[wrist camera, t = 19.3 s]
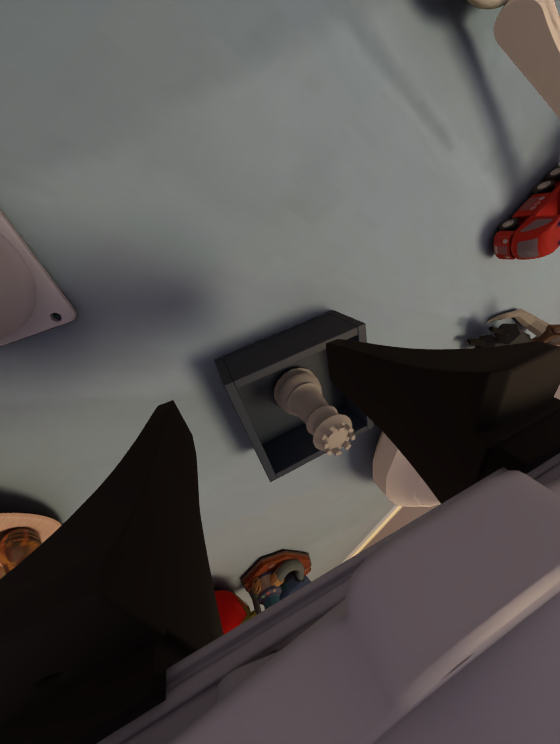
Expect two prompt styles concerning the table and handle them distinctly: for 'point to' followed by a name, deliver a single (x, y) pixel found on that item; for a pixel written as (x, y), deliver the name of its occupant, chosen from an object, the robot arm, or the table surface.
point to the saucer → (487, 3)
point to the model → (276, 577)
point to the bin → (260, 375)
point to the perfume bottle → (22, 537)
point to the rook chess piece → (313, 410)
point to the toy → (518, 331)
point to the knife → (533, 44)
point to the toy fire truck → (533, 224)
